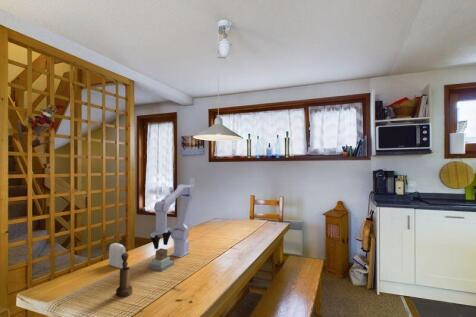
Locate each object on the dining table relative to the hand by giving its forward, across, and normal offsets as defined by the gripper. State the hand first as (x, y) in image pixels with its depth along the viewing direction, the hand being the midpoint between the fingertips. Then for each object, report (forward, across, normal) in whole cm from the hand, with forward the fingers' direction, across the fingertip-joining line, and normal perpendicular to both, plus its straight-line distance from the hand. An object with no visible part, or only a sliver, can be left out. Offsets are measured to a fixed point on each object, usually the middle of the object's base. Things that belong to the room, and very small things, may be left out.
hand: (160, 246), depth 147 cm
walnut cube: (+6, -1, -1) cm, 6 cm away
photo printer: (+11, -12, +21) cm, 26 cm away
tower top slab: (+9, -1, -1) cm, 9 cm away
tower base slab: (+11, -1, -1) cm, 11 cm away
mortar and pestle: (+10, -32, -7) cm, 34 cm away
